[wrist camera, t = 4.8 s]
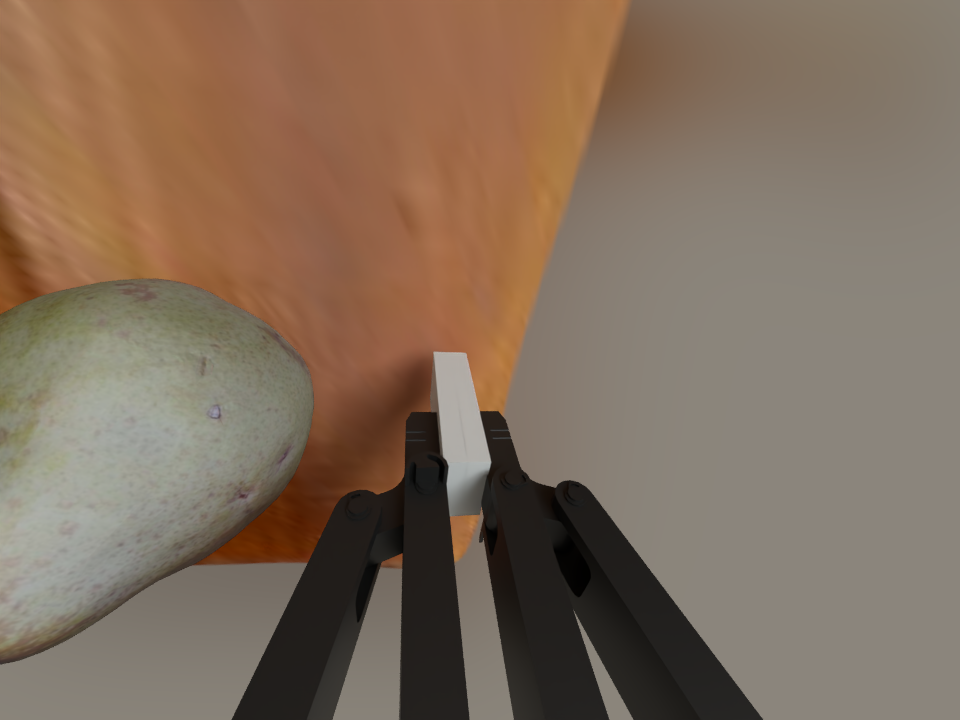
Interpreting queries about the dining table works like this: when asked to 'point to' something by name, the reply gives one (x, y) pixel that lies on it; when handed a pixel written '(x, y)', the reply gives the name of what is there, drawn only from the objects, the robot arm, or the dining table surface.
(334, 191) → the dining table surface
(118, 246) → the dining table surface
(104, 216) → the dining table surface
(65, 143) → the dining table surface
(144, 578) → the fruit
